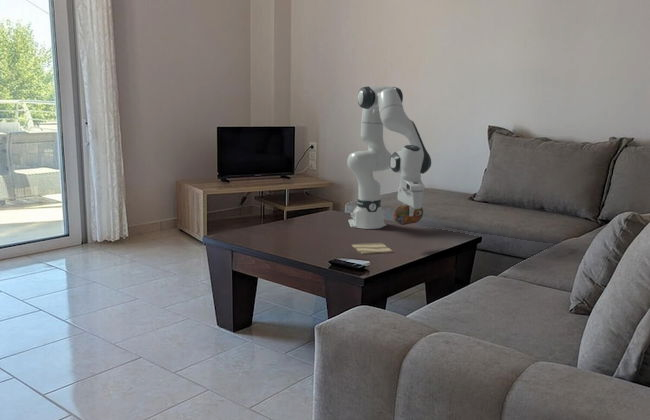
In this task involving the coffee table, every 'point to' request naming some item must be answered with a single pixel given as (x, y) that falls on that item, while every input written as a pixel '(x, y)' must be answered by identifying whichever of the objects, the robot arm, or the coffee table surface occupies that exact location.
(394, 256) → the coffee table surface
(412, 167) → the robot arm
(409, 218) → the tin
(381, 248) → the mat
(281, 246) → the coffee table surface
